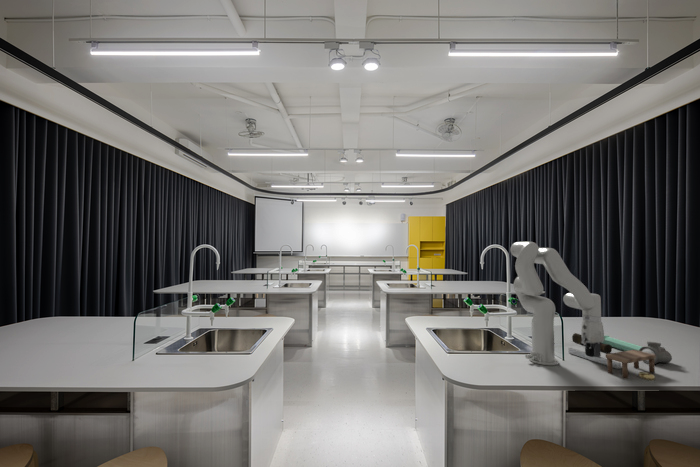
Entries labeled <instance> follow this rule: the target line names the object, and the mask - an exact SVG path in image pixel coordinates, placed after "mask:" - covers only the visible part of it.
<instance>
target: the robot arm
mask: <svg viewBox="0 0 700 467" xmlns="http://www.w3.org/2000/svg"><path fill="white" fill-rule="evenodd" d="M510 254H511V255H512V256H513V257H515V258H516V260H515V265H514V268H515V272H516V274H517V276H516V277H515V279H514V280H513V288H514V292H515V295H516V296H517V298H518V300H519V302H520V304H521V307H522V308H523V309H524V310H525V311H526V312H528V313H531V314H533V316H532V319H531V349H532V350H531V351H530V353H528V354H525V355H524V357H525V359H527V360H528V359H529V361H531V362H532V363H535V364H539V365H543V366H557V365H559V359H557V358H555V356H556V355H555V351H556V350H555V330H554V326H555V325H554V324H555V322H554V321H555V315H556V305H555V303H554V302H553V301H552V299H550V298H547V297H546V296H541V295H542V294H543V292H544V286H543V283H542V281H541V279H540V277H539V275H538V273H537V270H536V267H535V264H539V265H543V267H544V268H545V270H546V272H547V273H548V274H549V276H550V278H551V280H552V281H553V282H555V283H556V284H557V285H559V286H561V287H563V288H564V289H566V290H567V291H569V292H568V293H566V294H564V295H563V298H562V301H563V303H564V304H565V305H566V306H567V307H569V308H571V309H572V308H573V309H576V310H581V311H582V314H581V315H582V322H581V331H580V332H581V334H580V335H581V337H582V341H581V343H582V344H584V345H583V346H584V348H585V347H586V355H587V356H590V357H593V349H592V343H598V344H600V345H601V343H602V342H603V341H604V336H605V330H604V324H603V322H602V303H601V302H602V301H601V295H599V294H597V293H591V292H590V290H589V289H588V288H587V286H585V285H586V284H585V285H584V283H582V281H581V280H579V278H577V277H576V276H575V275H573V274H572V273H571V271H570V270H569V268H568V266H567V265H566V263H565V262H564V260H563V258H562V257H561V255H560V253H559V252H558V251H557V250H556V249H555V248H552V247H540V246H539V245H538V244H537V243H536V242H533V241H528V240H527V241H516V242H513V243H512V244H511V246H510ZM588 343H590V344H588Z"/></svg>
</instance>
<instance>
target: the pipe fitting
mask: <svg viewBox="0 0 700 467" xmlns="http://www.w3.org/2000/svg"><path fill="white" fill-rule="evenodd" d="M646 345H647V346H645V345H644V346H641V348H640V350H639V351H642V352H646V353H650V354H654V355H655V359H654V365H655V364H658V363H670V362H671V361H672V359H673V356H672V354H671V352H669V351H667V349H666V348H665V347H664V346H662V343H661V342H656V341H646ZM642 362H644V363H645V364H648V365H649V360H644V361H642Z"/></svg>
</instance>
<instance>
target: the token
mask: <svg viewBox="0 0 700 467" xmlns="http://www.w3.org/2000/svg"><path fill="white" fill-rule="evenodd" d="M638 377H639V378H641V379H642V380H647V381H655V380H656V379H655V378H656V376H655V374H654V373H650V372H648V371H639V372H638Z"/></svg>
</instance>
